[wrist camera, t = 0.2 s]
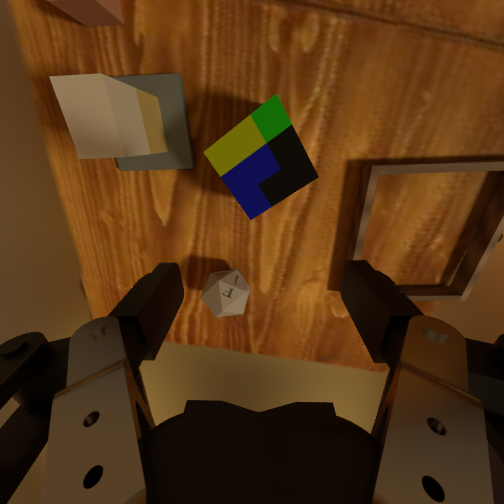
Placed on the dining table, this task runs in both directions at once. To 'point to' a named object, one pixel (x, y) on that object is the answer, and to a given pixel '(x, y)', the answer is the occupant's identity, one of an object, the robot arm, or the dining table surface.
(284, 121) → the puzzle toy
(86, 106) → the brick white
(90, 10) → the brick terracotta
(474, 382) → the robot arm
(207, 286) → the die
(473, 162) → the tray frame
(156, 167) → the baseplate
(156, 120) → the brick mustard
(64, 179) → the dining table surface
